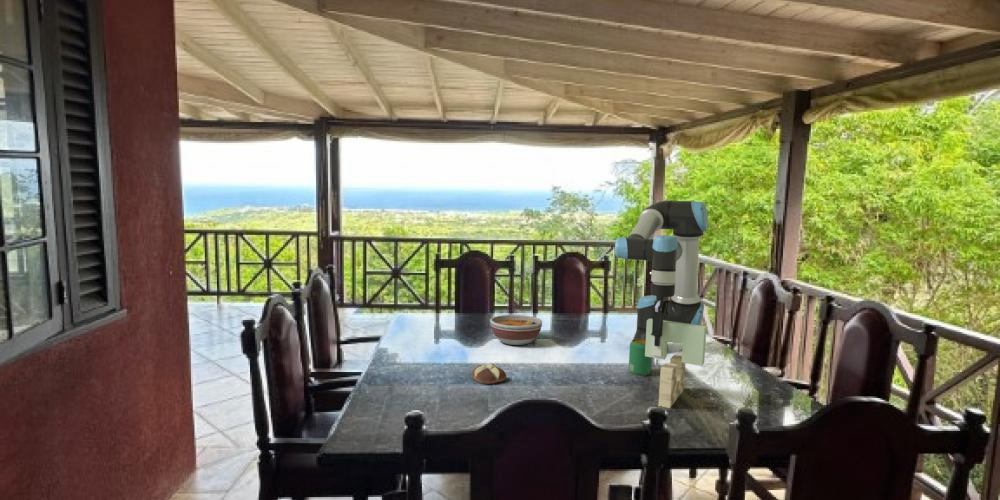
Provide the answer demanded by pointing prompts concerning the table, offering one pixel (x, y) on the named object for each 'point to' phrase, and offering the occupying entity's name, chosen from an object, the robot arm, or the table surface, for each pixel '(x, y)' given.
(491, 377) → the bread
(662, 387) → the wooden block structure
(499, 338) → the bowl
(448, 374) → the table surface
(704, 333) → the pale green rectangular block
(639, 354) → the beverage can
